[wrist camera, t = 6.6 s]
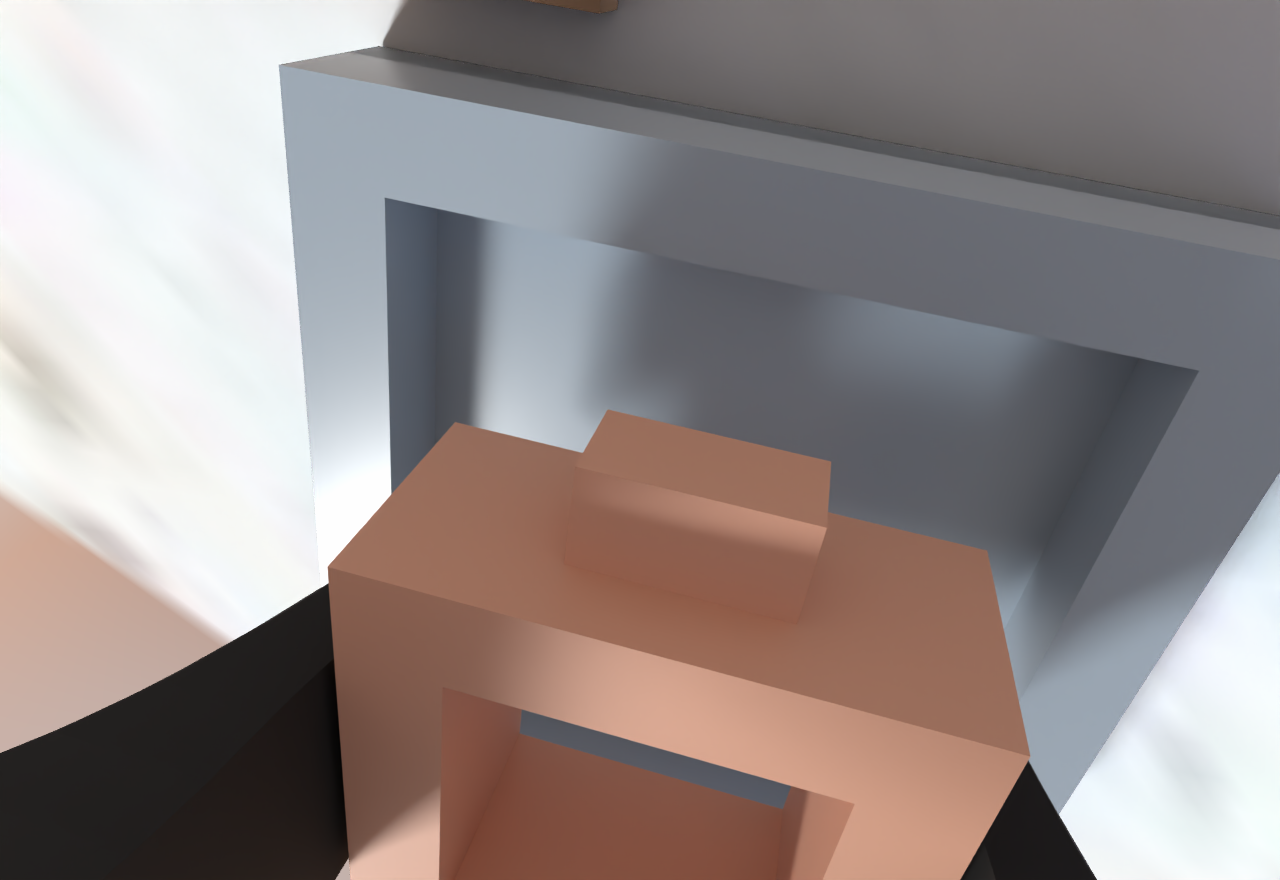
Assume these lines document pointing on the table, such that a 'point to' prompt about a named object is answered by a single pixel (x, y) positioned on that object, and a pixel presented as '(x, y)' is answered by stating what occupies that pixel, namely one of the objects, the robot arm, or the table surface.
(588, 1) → the base
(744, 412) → the tray
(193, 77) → the table surface
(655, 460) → the ring
